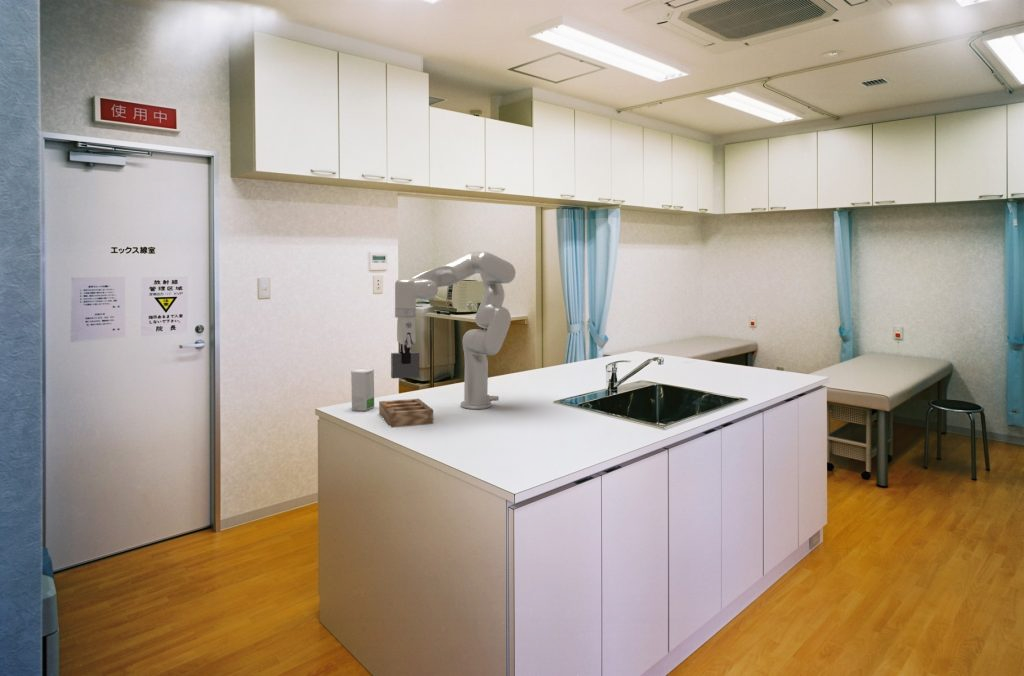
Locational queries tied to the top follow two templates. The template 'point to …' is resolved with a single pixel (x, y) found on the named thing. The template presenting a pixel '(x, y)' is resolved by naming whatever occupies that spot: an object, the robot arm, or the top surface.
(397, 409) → the rack
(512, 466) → the top surface
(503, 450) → the top surface
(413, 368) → the panel
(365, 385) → the skincare box
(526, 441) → the top surface
